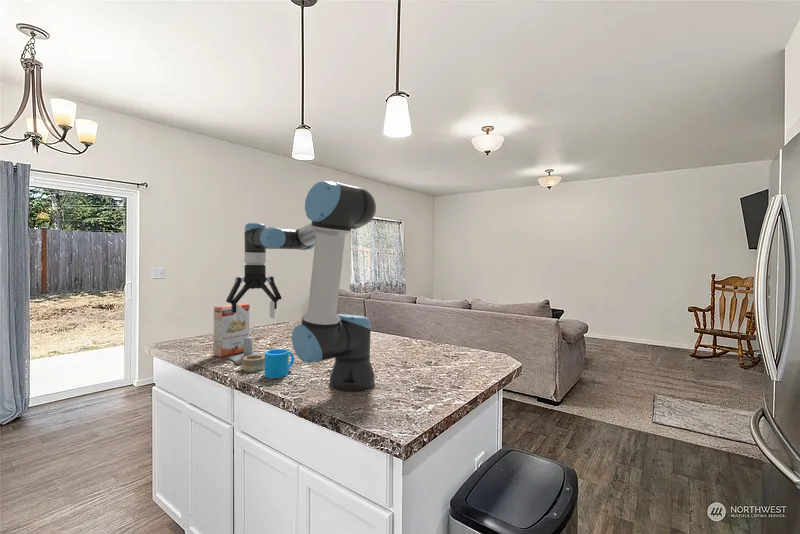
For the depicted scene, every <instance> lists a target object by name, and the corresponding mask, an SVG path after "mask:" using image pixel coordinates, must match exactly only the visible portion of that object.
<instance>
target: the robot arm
mask: <svg viewBox="0 0 800 534" xmlns="http://www.w3.org/2000/svg"><path fill="white" fill-rule="evenodd" d="M304 201H305V202H304V212H305V215H306V217H307V219H308V220H310V221H311V222H310V223H308V224H306V225H304V226H303V227H300V228H298V229H288V228H287V229H286V228H279V227H272V226H271V227H270V226H269V227H266V225H265V224H264V223H259V222H258V223H257V222H256V223H254V222H253V223H252V222H248V223H246V224H244V232H243V234H244V263H245V264H244V277H240V276H239V277H238V276H237V277H235V278H234V279H235V281H234V284H233V285H232V288H231V291H230V292H229V294H228V295H227V298H226V300H225V302H226V303H229V304H230V305H232V313H234V321H235V322H239V304H240V303H238V302H239V301H240V300H241V299H242V298H243V297H244V296H245V294H246V293H247V292H248V291H249V290H250V289H251V290H255V289H259V290H260V289H262V290H263V292H264V293H265V294H266V295H267V296H268V297H269V299H270V300H271V301H269V318H270V319H275V312H276V311H275V310H277V307H278V306H277V305H278V304H277V303H278V302H279V301H280V300H282V295H281V293H280V292H279V290H278V289H279V288H278V287H277V284H276V283H275V278H274V276H268V277H267V276H266V268H267V267H266V262H267V259H266V258H267V257H266V256H267V255H266V253H267V252H266V249H267V250H271V249H272V250H298V251H299V250H301V251H305V250H312V249H313V248H314V249H313V259H312V267H311V279H310V280H311V281H310V286H309V287H310V288H309V297H308V298H309V299H308V306H307V308H308V309H307V311H306V312H305V313H304V314H303V315H302V316H301V324H297V325H296V326H295V327H294V329H293V330H292V332H291V333H292V334H291V342H292V344H291V345H292V347H293V350H294V352H295V354H296V356H297V358H299V360H300V361H302V362H303V363H306V364H312V363H320V362H323V361H326V360H330V359H331V360H332V359H334V363H333V366H332V370H331V372H330V373H331V374H330V376H329V386H330V387H331V388H332V389H335V390H339V391H343V392H356V391H357V392H358V391H362V390H363V391H365V390H367V389H370V388H372V387H374V386H375V383H376V376H375V373H374V370H373V366H372V363H371V331H372V329H371V320H370V318H369V317H366V316H363V315H357V314H348V313H347V314H346V313H345V314H344V313H337V311H338V304H339V303H338V302H339V294H340V285H341V276H342V270H343V269H342V267H343V261H344V260H343V258H344V252H345V250H344V249H345V243H346V241H345V240H346V236H348V234H350V233H351V232H352V230H356V229H360V228H361V227H364V226H366V225H367V224H369V223H370V222H372V220H373V219H374V217H375V216H376V215H375V214H376V211H377V210H376V209H377V205H376V204H377V203H376V201H375V198H374V196H373V194H371V192H369V191H368V190H367V189H364V188H362V187H359V186H353V185H349V184H344V183H340V182H336V181H335V182H334V181H325V180H322V181H319V182H318V181H317V182H316V183H315V184H313V185H312V187H311V188H310V189H309V191H308V192H307V195H306V197H305V200H304ZM243 282H244V285H243V286H242V288H241V290H239V288H240V286H241V284H242V283H243ZM266 282H267V283H268V284H269V286H270V289H271V290H272V291H271V290H270V289H269V288H268V285H266ZM238 290H239V291H238ZM237 292H238V293H237ZM272 292H273V293H272Z"/></svg>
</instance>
